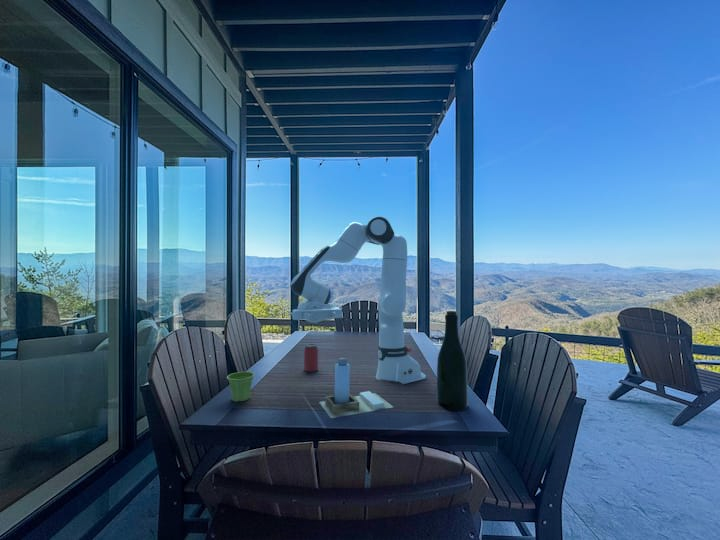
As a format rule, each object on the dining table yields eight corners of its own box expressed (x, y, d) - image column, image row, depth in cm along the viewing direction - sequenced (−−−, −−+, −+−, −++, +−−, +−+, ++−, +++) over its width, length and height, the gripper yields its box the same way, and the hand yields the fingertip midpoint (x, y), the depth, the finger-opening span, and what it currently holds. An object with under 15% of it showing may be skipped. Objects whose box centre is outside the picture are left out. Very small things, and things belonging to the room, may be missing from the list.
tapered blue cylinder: (346, 403, 111) (347, 356, 111) (351, 408, 106) (352, 360, 107) (332, 404, 109) (333, 357, 109) (337, 410, 104) (337, 361, 105)
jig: (375, 396, 120) (375, 386, 120) (393, 410, 107) (393, 399, 107) (318, 405, 112) (318, 394, 112) (331, 422, 99) (331, 410, 99)
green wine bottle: (446, 397, 119) (445, 308, 120) (473, 405, 112) (472, 311, 112) (430, 405, 112) (430, 310, 113) (458, 414, 104) (457, 313, 105)
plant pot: (237, 406, 111) (238, 380, 111) (221, 400, 116) (221, 376, 116) (259, 397, 119) (259, 374, 119) (242, 392, 124) (243, 370, 124)
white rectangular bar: (369, 395, 118) (369, 391, 118) (384, 407, 107) (384, 402, 107) (359, 396, 117) (359, 392, 117) (373, 409, 105) (373, 404, 106)
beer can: (315, 372, 150) (315, 347, 151) (302, 371, 152) (302, 346, 152) (319, 368, 157) (319, 344, 157) (307, 367, 158) (307, 343, 159)
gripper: (288, 305, 132) (295, 308, 119) (335, 304, 140) (346, 306, 127) (288, 320, 132) (295, 325, 119) (335, 318, 140) (346, 322, 127)
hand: (322, 315), depth 123 cm, fingers open, 8 cm apart
